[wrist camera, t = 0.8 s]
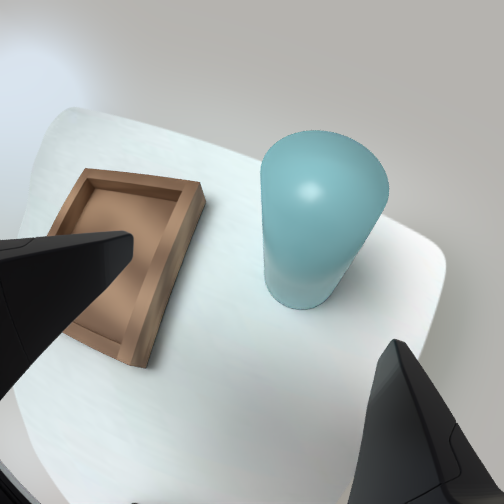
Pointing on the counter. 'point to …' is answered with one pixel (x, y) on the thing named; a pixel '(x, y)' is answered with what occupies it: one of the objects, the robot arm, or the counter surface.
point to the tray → (144, 254)
